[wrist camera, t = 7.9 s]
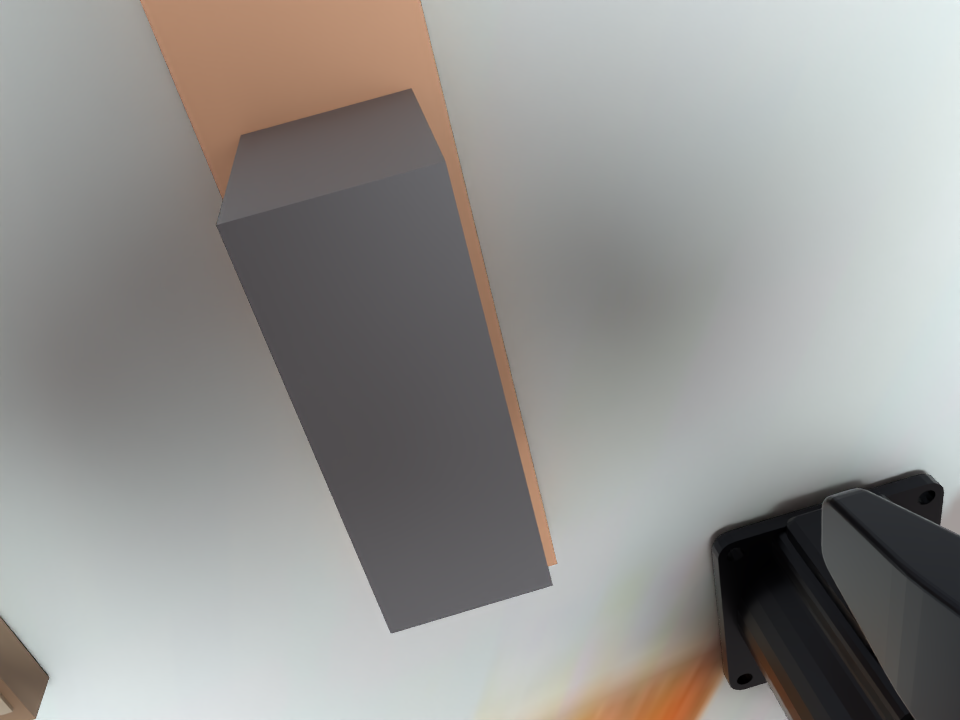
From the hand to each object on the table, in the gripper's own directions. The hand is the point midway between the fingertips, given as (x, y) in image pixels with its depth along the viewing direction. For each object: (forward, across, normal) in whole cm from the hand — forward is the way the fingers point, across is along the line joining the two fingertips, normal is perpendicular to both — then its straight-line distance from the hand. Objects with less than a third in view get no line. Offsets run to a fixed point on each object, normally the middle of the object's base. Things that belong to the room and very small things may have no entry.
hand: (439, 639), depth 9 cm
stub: (+9, 0, 0) cm, 9 cm away
